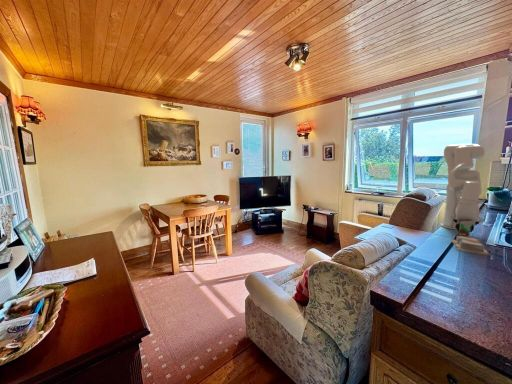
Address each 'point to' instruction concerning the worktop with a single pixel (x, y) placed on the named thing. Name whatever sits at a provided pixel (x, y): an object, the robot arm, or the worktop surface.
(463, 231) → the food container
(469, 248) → the beige rectangular frame
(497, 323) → the worktop surface
